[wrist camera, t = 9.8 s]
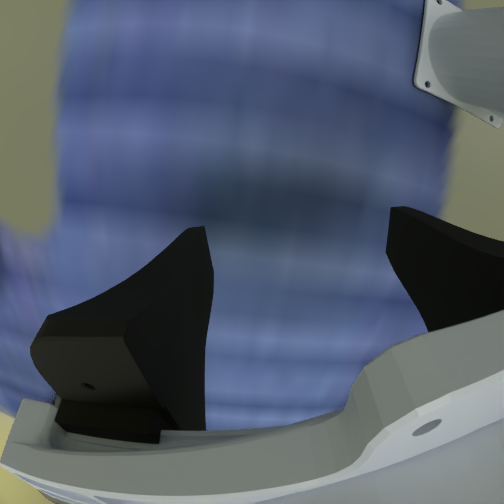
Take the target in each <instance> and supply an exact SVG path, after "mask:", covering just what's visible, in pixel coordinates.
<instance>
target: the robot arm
mask: <svg viewBox="0 0 504 504" xmlns="http://www.w3.org/2000/svg"><path fill="white" fill-rule="evenodd" d="M438 1H439V4H438V3H437V0H425V8H424V17H423V25H422V33H421V40H420V47H419V53H418V59H417V65H416V70H415V75H414V84H415V86H416V87H417V88H419V89H421V90H424V91H426V92H428V93H430V94H433V95H435V96H437V97H439V98H441V99H443V100H445V101H447V102H449V103H451V104H453V105H455V106H457V107H459V108H461V109H463V110H465V111H467V112H469V113H471V114H473V115H474V116H476V117H478V118H480V119H481V120H483V121H485V122H486V123H488V124H490V125H492V126H493V127H495V128H498V129H499V128H500V127H501V125H502V121H503V119H504V7H496V8H485V9H475V10H468V11H463V10H461V9H459V8H458V7H456V6H455V5H453V4H451V3H450V2H448V1H446V0H438ZM425 82H427V83H428V86H427V87H426V86H425ZM490 117H491V118H490ZM386 254H387V256H388V259H389V261H390V263H391V265H392V267H393V270H394V272H395V273H396V275H397V277H398V278H399V280H400V281H401V283H402V285H403V286H404V288H405V289H406V291H407V292H408V294H409V296H410V297H411V299H412V301H413V302H414V304H415V305H416V307H417V309H418V310H419V312H420V314H421V316H422V318H423V320H424V322H425V325H426V327H427V330H428V332H427V333H423V334H419V335H416V336H414V337H411V338H409V339H407V340H404V341H402V342H399V343H397V344H394V345H392V346H390V347H388V348H387V349H386V350H384V351H383V352H382V353H381V354H379V355H378V356H377V357H375V358H374V359H373V360H371V361H370V362H368V363H367V364H366V366H365V367H364V368H363V370H362V371H361V373H360V375H359V376H358V378H357V379H356V381H355V382H354V384H353V385H352V387H351V390H350V394H349V398H348V402H347V405H346V406H345V407H344V408H341V409H338V410H335V411H332V412H329V413H326V414H323V415H320V416H317V417H314V418H310V419H307V420H304V421H300V422H297V423H293V424H290V425H285V426H277V427H266V428H255V429H240V430H217V431H206V422H205V346H206V337H207V331H208V325H209V318H210V312H211V306H212V299H213V288H214V271H213V266H212V261H211V256H210V251H209V246H208V241H207V236H206V231H205V226H200V227H192V228H188V229H186V230H185V231H184V232H183V233H182V234H180V235H179V236H178V237H177V238H176V239H175V240H174V241H173V242H172V243H171V244H170V245H169V246H168V247H167V248H165V249H164V250H163V251H162V252H161V253H160V254H159V255H157V256H156V257H155V258H154V259H153V260H152V261H150V262H149V263H148V264H147V265H146V266H144V267H143V268H142V269H140V270H139V271H138V272H136V273H135V274H133V275H132V276H130V277H129V278H128V279H126V280H124V281H123V282H121V283H119V284H118V285H116V286H114V287H112V288H111V289H109V290H107V291H106V292H104V293H102V294H100V295H98V296H96V297H94V298H92V299H89V300H87V301H85V302H83V303H80V304H78V305H76V306H73V307H70V308H67V309H65V310H62V311H59V312H56V313H54V314H50V315H48V316H47V317H46V319H45V321H44V323H43V324H42V326H41V328H40V330H39V332H38V333H37V335H36V337H35V339H34V341H33V343H32V344H31V346H30V355H31V357H32V360H33V363H34V365H35V367H36V368H37V370H38V371H39V373H40V374H41V375H42V376H43V378H44V379H45V380H46V381H47V383H48V384H49V385H50V386H51V387H52V388H53V390H54V391H55V392H56V393H57V394H58V395H59V397H60V398H61V399H62V400H61V403H60V406H59V408H57V407H56V406H54V405H52V404H50V403H47V402H42V401H37V400H32V399H27V398H24V399H23V400H22V403H21V405H20V408H19V410H18V412H17V415H16V417H15V420H14V423H13V425H12V428H11V431H10V433H9V436H8V439H7V442H6V445H5V448H4V450H3V454H2V457H1V460H0V465H1V466H2V467H4V468H5V469H6V470H8V471H9V472H11V473H12V474H14V475H16V476H17V477H19V478H20V479H22V480H23V481H25V482H26V483H28V484H30V485H32V486H33V487H35V488H37V489H38V490H40V491H42V492H44V493H46V494H47V495H49V496H51V497H54V498H57V499H59V500H62V501H65V502H68V503H71V504H504V242H503V241H499V240H495V239H492V238H488V237H485V236H482V235H479V234H476V233H473V232H470V231H468V230H465V229H462V228H460V227H457V226H455V225H452V224H450V223H448V222H446V221H443V220H441V219H438V218H436V217H434V216H431V215H429V214H426V213H424V212H421V211H419V210H416V209H413V208H409V207H405V206H401V207H391V210H390V220H389V229H388V238H387V246H386Z"/></svg>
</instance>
